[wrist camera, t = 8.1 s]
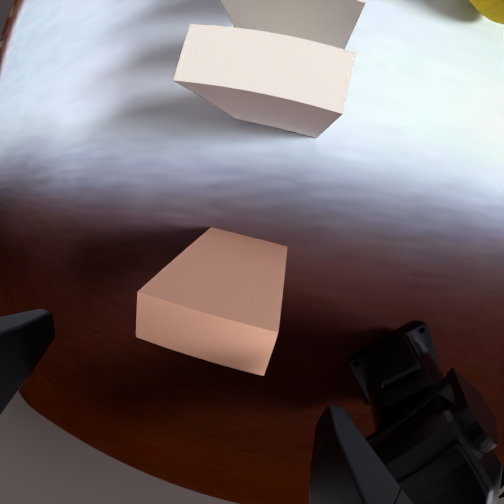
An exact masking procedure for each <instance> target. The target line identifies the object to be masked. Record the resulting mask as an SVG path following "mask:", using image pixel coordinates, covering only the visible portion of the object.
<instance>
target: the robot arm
mask: <svg viewBox="0 0 504 504" xmlns="http://www.w3.org/2000/svg"><path fill="white" fill-rule="evenodd" d="M421 328H423V329H422V330H420V329H421ZM419 330H420V331H419ZM54 336H55V330H54V322H53V316H52V314H51V313H50V312H48V311H47V310H45V309H37V310H32V311H27V312H22V313H18V314H13V315H8V316H3V317H0V415H1V413H2V412H3V410H4V409H5V408H6V406H7V405H8V403H9V402H10V401H11V399H12V398H13V397H14V395H15V394H16V392H17V391H18V390H19V389H20V387H21V386H22V385H23V383H24V382H25V381H26V379H27V378H28V377H29V375H30V374H31V373H32V371H33V370H34V368H35V367H36V365H37V364H38V362H39V361H40V359H41V357H42V356H43V354H44V353H45V351H46V350H47V348H48V347H49V345H50V344H51V342H52V341H53V339H54ZM355 361H358V362H357V363H354V362H355ZM349 365H350V368H351V369H352V371H353V373H354V375H355V377H356V379H357V380H358V382H359V384H360V386H361V388H362V390H363V391H364V393H365V395H366V397H367V399H368V401H369V403H370V405H371V410H372V414H373V419H374V424H375V429H376V431H375V432H374V433H372V434H371V435H369V436H368V437H366V438H365V437H364V436H363V435H362V433H361V432H360V430H359V429H358V428H357V426H356V425H355V423H354V422H353V421H352V419H351V418H350V416H349V415H348V414H347V412H346V411H345V409H344V408H343V407H342V406H338V405H332V404H330V405H328V406H327V407H326V409H325V410H324V412H323V414H322V415H321V417H320V419H319V420H318V422H317V425H316V431H315V439H314V447H313V454H312V461H311V469H310V499H309V504H497V500H498V495H499V489H500V482H501V474H502V466H501V463H500V461H499V459H498V457H497V456H496V454H495V452H494V450H493V448H494V447H495V446H497V445H498V436H497V429H496V423H495V418H494V414H493V413H492V411H491V409H490V408H489V406H488V405H487V403H486V402H485V400H484V399H483V397H482V396H481V394H480V393H479V392H478V391H477V390H476V389H475V388H474V387H473V386H472V385H471V384H470V383H469V382H468V381H467V380H466V379H465V378H464V377H462V376H461V375H460V374H459V373H458V372H457V371H456V370H455V369H454V368H452V369H451V370H450V371H449V372H448V373H447V376H445V377H444V376H443V374H442V372H441V371H440V368H439V364H438V360H437V356H436V353H435V349H434V346H433V342H432V339H431V336H430V333H429V329H428V327H427V325H426V324H425V323H424V322H420V323H417V324H416V325H414V326H412V327H410V328H408V329H407V330H405V331H403V332H401V333H399V334H397V335H395V336H393V337H391V338H389V339H387V340H385V341H383V342H381V343H379V344H377V345H375V346H373V347H371V348H369V349H367V350H365V351H363V352H361V353H359V354H357V355H355V356H353V357H351V358H350V359H349Z"/></svg>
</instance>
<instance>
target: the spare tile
mask: <svg viewBox="0 0 504 504" xmlns="http://www.w3.org/2000/svg"><path fill="white" fill-rule="evenodd" d="M286 256H287V246H284V245H280V244H276V243H272V242H268V241H264V240H260V239H256V238H252V237H248V236H244V235H241V234H237V233H233V232H229V231H225V230H221V229H217V228H213V227H211V228H210V229H208V230H207V231H206V232H205V233H204V234H203V235H201V236H200V237H199V238H198V239H197V240H196V241H194V242H193V243H192V244H191V245H190V246H189V247H187V248H186V249H185V250H184V251H183V252H182V253H181V254H179V255H178V256H177V257H176V258H175V259H174V260H173V261H171V262H170V263H169V264H168V265H167V266H166V267H165V268H163V269H162V270H161V271H160V272H159V273H158V274H157V275H156V276H154V277H153V278H152V279H151V280H150V281H149V282H148V283H147V284H146V285H144V286H143V287H142V288H141V289H140V290H139V291H138V295H137V317H136V337H138V338H140V339H143V340H146V341H149V342H151V343H154V344H157V345H160V346H163V347H166V348H169V349H172V350H175V351H178V352H181V353H184V354H187V355H190V356H193V357H196V358H200V359H203V360H206V361H210V362H213V363H217V364H220V365H224V366H227V367H231V368H235V369H238V370H242V371H246V372H250V373H254V374H258V375H262V376H264V374H265V371H266V368H267V365H268V363H269V360H270V357H271V354H272V351H273V348H274V345H275V342H276V339H277V335H278V332H279V324H280V315H281V305H282V296H283V286H284V276H285V266H286Z"/></svg>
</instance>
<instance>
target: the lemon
mask: <svg viewBox="0 0 504 504" xmlns="http://www.w3.org/2000/svg"><path fill="white" fill-rule="evenodd" d="M469 1H470V3H471V4H472V5H473V6H474V8H475V9H476V10H477V11H478V12H480V13H481V14H482V15H484V16H485V17H486V18H488V19H490V20H492V21H494V22H496V23H500V24H504V0H469Z"/></svg>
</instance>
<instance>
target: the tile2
mask: <svg viewBox="0 0 504 504" xmlns="http://www.w3.org/2000/svg"><path fill="white" fill-rule="evenodd" d="M355 55H356V53H353V52H350V51H347V50H344V49H340V48H337V47H333V46H330V45H326V44H322V43H318V42H314V41H310V40H306V39H301V38H297V37H292V36H287V35H282V34H276V33H271V32H264V31H258V30H251V29H243V28H235V27H225V26H213V25H197V24H190V26H189V29H188V32H187V36H186V39H185V42H184V45H183V48H182V51H181V55H180V58H179V62H178V65H177V69H176V72H175V76H174V79H173V81H175V82H177V83H178V84H180V85H182V86H184V87H185V88H187V89H189V90H190V91H192V92H194V93H195V94H197V95H199V96H200V97H202V98H204V99H205V100H207V101H209V102H210V103H212V104H213V105H215V106H217V107H218V108H220V109H221V110H223V111H224V112H226V113H227V114H229V115H231V116H232V117H234V118H235V119H239V120H244V121H249V122H253V123H258V124H262V125H267V126H271V127H275V128H280V129H284V130H288V131H292V132H296V133H299V134H303V135H307V136H311V137H314V138H317V137H318V136H319V135H320V134H322V133H323V132H324V131H325V130H326V129H327V128H328V127H329V126H330V125H331V124H332V123H333V122H334V121H335V120H336V119H338V118H339V117H340V116H341V115H342V113H343V109H344V105H345V101H346V96H347V92H348V88H349V83H350V79H351V74H352V69H353V65H354V60H355Z"/></svg>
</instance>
